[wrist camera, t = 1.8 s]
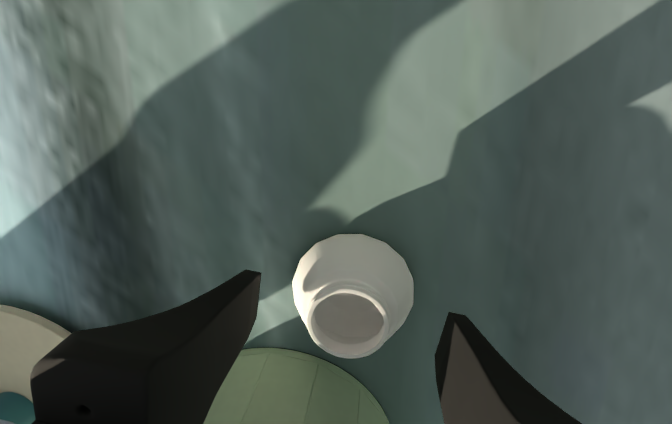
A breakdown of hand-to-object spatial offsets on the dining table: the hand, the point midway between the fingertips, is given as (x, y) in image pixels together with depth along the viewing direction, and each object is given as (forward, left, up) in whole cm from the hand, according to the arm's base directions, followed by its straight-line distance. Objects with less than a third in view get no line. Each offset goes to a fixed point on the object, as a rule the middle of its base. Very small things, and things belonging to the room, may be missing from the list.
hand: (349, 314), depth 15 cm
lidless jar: (0, 0, -3) cm, 3 cm away
